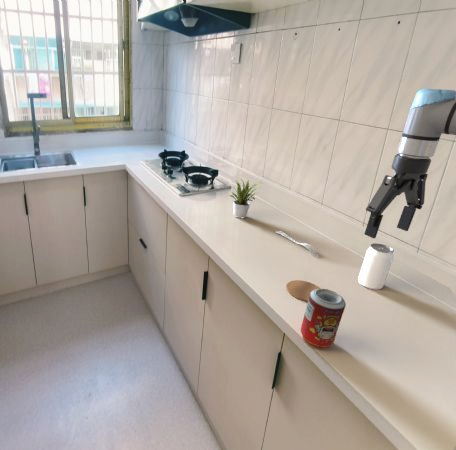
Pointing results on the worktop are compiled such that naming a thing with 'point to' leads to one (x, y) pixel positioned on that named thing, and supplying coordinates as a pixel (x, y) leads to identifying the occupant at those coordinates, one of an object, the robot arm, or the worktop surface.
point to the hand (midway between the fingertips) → (386, 232)
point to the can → (376, 266)
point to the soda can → (322, 318)
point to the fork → (299, 243)
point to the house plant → (242, 199)
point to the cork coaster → (301, 289)
